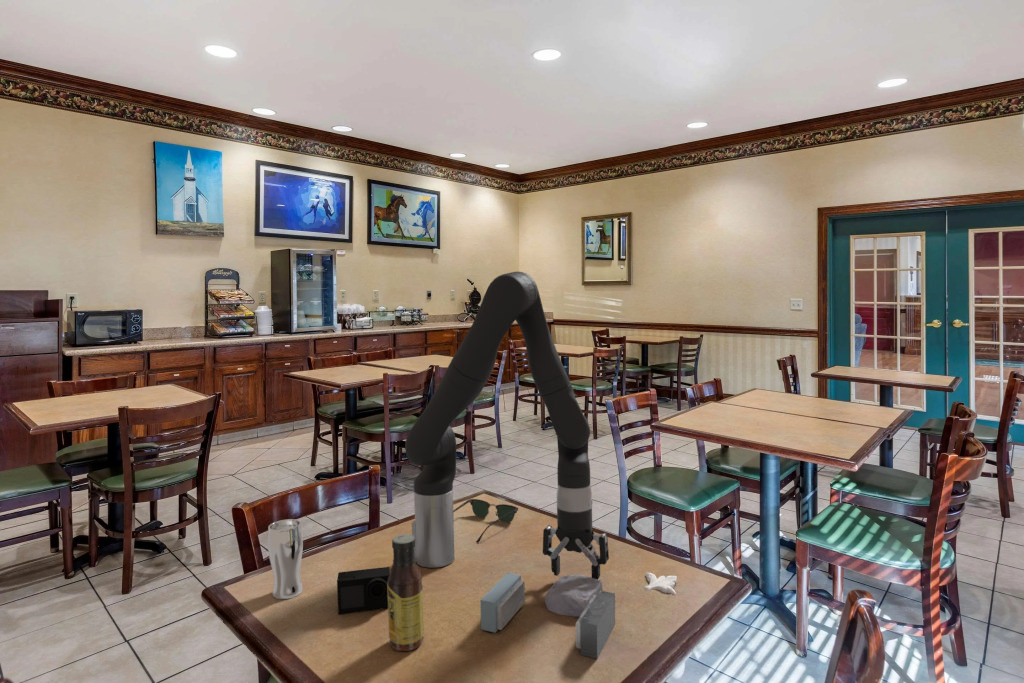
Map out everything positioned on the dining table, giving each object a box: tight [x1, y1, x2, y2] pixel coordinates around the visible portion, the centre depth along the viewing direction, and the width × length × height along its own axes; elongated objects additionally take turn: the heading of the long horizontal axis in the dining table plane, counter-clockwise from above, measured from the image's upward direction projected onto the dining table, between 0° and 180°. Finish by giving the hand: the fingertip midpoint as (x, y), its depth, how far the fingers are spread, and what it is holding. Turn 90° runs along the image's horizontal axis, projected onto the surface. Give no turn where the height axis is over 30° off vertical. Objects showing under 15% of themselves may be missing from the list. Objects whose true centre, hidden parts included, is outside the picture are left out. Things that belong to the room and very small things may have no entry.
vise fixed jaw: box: [575, 590, 616, 660], centre depth 106 cm, size 4×12×6 cm, turn 155°
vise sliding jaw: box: [479, 572, 526, 634], centre depth 114 cm, size 4×12×6 cm, turn 155°
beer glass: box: [267, 518, 304, 600], centre depth 125 cm, size 7×7×15 cm
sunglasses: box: [453, 498, 519, 543], centre depth 160 cm, size 16×17×5 cm
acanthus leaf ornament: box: [643, 572, 678, 596], centre depth 126 cm, size 8×7×2 cm
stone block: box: [544, 573, 603, 618], centre depth 120 cm, size 12×5×10 cm
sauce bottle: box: [387, 533, 425, 652], centre depth 105 cm, size 6×6×20 cm
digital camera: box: [336, 566, 391, 615], centre depth 119 cm, size 10×5×7 cm, turn 103°
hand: (575, 577), depth 127 cm, fingers open, 8 cm apart
